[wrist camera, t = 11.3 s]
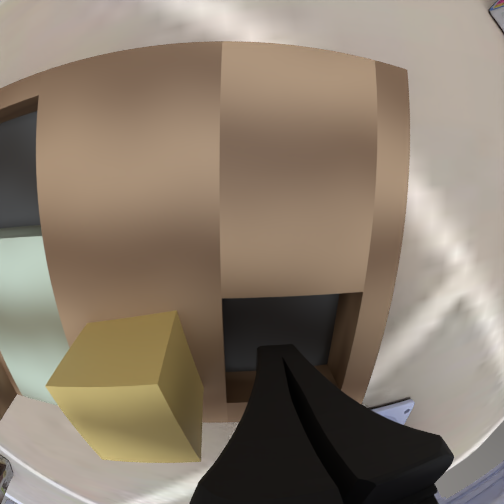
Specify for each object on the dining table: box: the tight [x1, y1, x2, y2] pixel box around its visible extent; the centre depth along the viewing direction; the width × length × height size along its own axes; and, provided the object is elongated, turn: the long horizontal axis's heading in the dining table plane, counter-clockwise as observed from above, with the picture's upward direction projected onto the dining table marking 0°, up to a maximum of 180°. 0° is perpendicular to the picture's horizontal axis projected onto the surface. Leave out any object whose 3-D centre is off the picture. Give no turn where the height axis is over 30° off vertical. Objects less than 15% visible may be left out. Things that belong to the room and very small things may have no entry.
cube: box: [45, 310, 204, 463], centre depth 9 cm, size 4×4×4 cm
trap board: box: [0, 41, 410, 422], centre depth 10 cm, size 16×21×5 cm
